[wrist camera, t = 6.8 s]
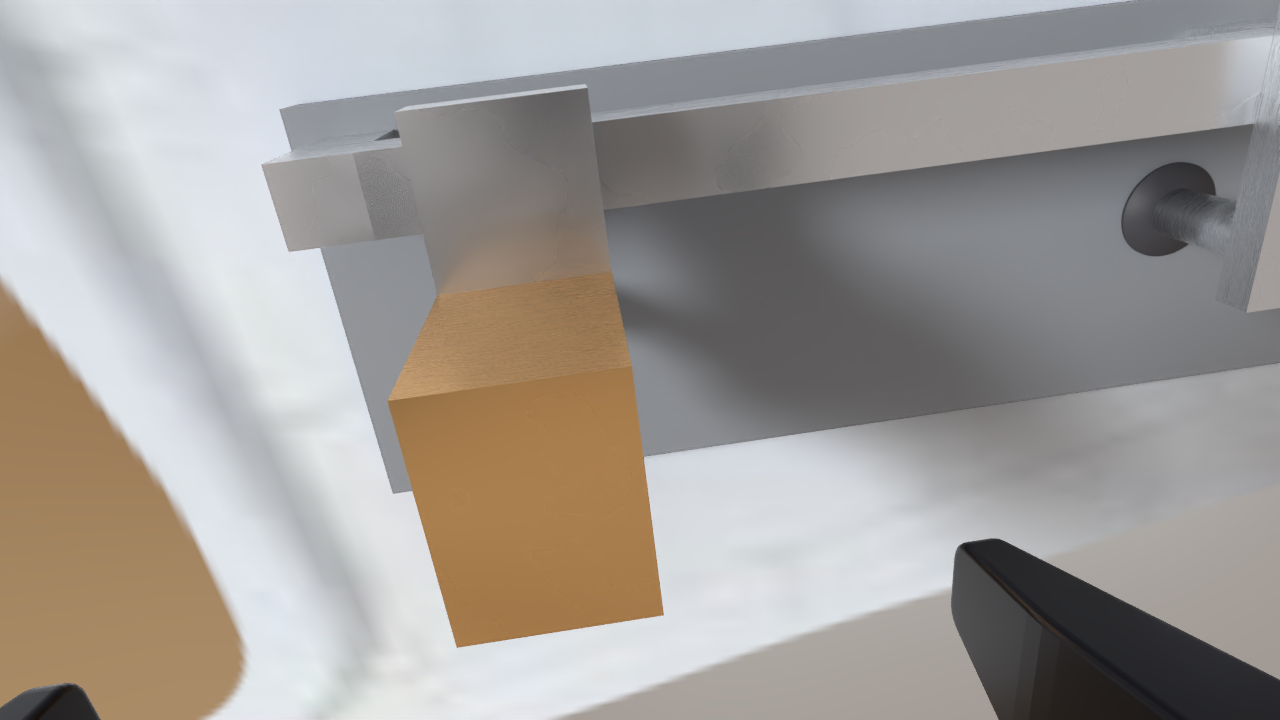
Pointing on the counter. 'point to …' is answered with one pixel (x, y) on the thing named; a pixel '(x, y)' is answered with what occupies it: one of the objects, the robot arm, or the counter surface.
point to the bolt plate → (866, 252)
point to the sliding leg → (522, 375)
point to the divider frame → (887, 142)
